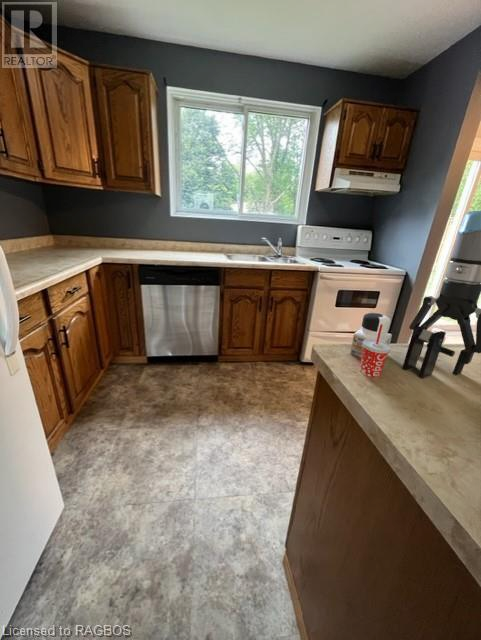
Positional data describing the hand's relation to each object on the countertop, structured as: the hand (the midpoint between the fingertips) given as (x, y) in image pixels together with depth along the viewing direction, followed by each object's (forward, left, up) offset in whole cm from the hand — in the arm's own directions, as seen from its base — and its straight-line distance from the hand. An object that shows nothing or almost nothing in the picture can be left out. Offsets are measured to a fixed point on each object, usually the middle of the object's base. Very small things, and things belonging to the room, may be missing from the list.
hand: (435, 364), depth 72 cm
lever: (+5, +1, +6) cm, 8 cm away
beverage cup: (+20, -1, -2) cm, 21 cm away
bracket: (+8, +2, -2) cm, 9 cm away
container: (+13, -9, -2) cm, 17 cm away
